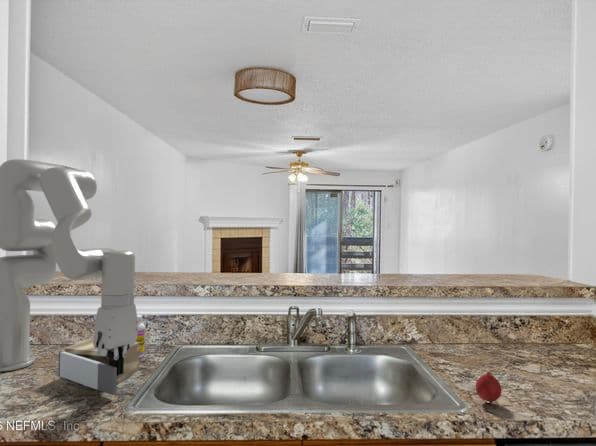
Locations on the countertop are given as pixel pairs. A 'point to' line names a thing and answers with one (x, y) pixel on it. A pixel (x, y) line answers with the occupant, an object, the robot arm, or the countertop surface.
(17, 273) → the robot arm
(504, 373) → the countertop surface
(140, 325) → the supplement bottle
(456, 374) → the countertop surface
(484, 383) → the onion
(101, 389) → the door
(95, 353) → the cabinet
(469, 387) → the countertop surface
